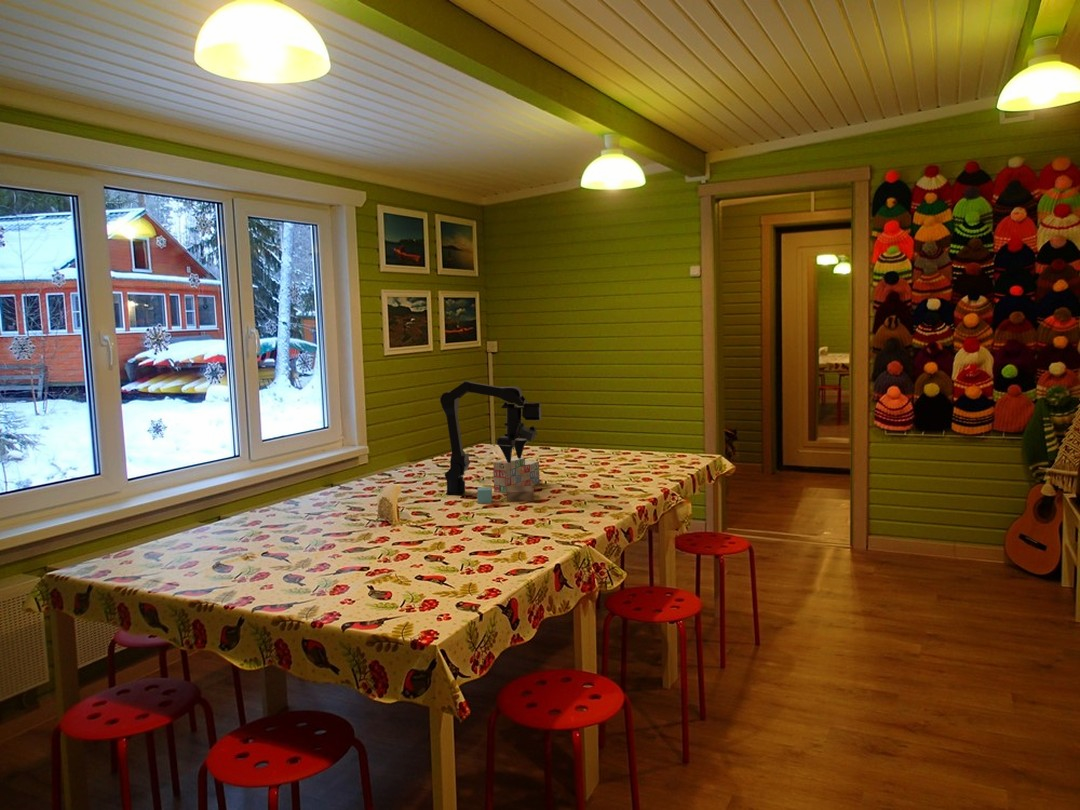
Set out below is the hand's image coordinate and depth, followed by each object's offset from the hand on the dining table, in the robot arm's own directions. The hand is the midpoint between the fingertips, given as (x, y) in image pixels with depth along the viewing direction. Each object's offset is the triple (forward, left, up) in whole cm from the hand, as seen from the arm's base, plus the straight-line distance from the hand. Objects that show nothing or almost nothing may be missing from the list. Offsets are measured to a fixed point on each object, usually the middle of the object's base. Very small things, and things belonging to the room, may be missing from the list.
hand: (514, 460), depth 309 cm
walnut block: (+2, -7, -14) cm, 15 cm away
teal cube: (-11, -11, -13) cm, 21 cm away
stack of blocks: (+1, +12, -13) cm, 18 cm away
